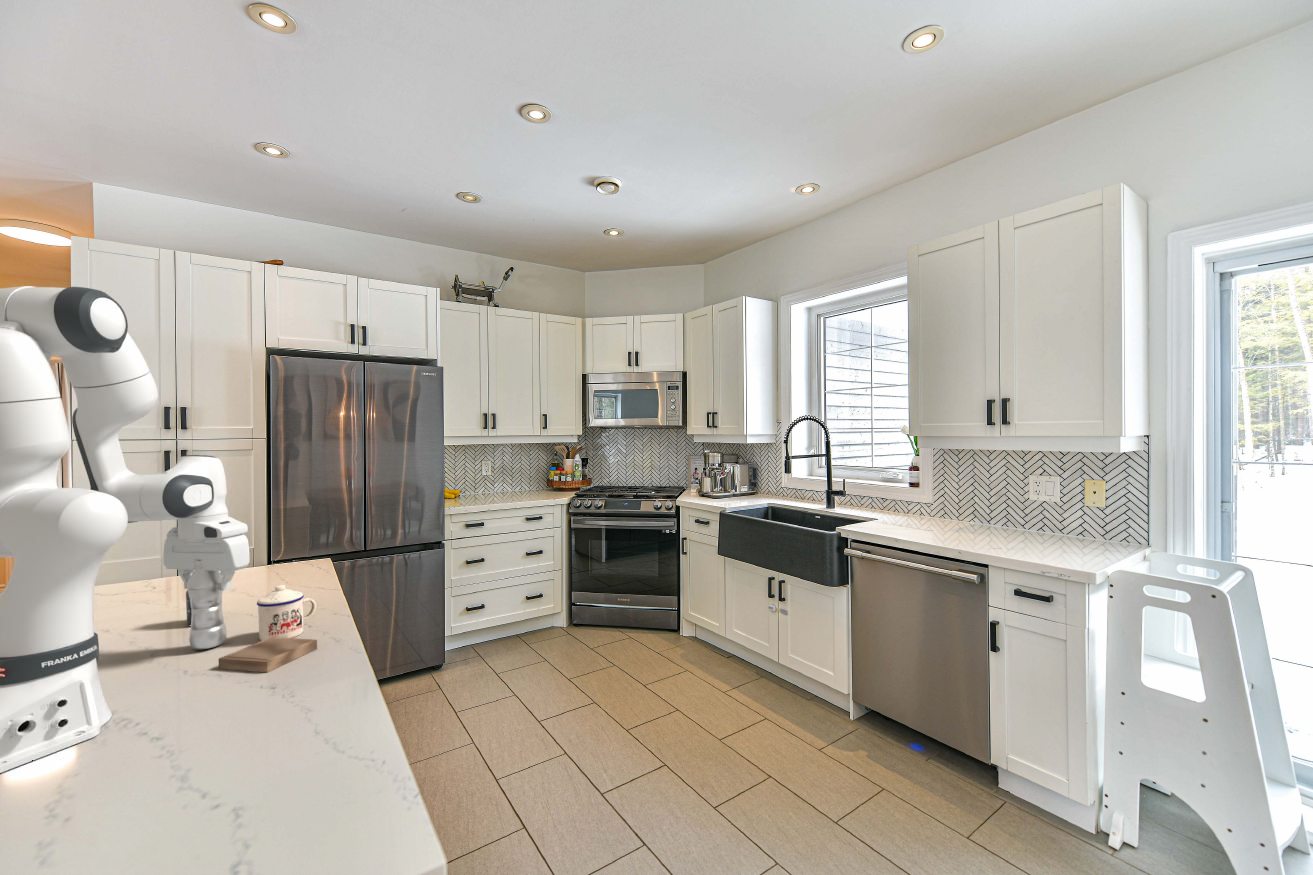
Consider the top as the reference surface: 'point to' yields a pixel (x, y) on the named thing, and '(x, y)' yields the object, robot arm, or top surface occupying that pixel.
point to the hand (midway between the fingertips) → (207, 589)
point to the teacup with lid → (282, 613)
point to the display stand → (267, 654)
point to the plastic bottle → (205, 608)
